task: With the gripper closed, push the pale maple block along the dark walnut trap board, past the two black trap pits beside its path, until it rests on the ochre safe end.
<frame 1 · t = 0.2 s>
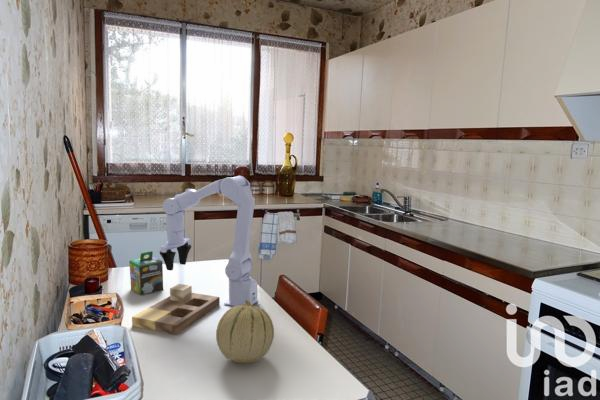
hand: (176, 267, 155), 10 cm above the table, tool pointing down, fingers open, 7 cm apart
maple block: (181, 298, 144), point 3 cm above the table, touching trap board
chalk box: (147, 290, 160), on the table
cantaloupe: (245, 360, 110), on the table
trap board: (178, 315, 137), on the table
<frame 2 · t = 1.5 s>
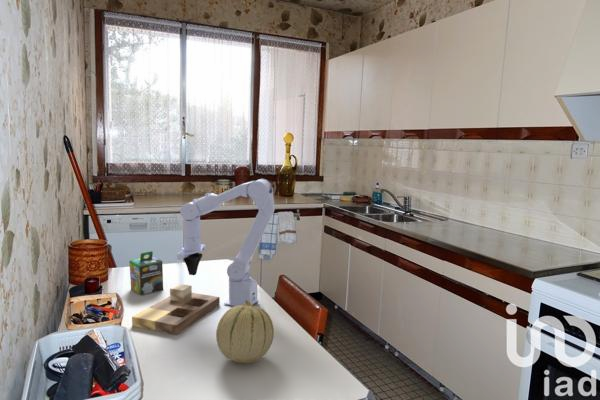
hand: (192, 274, 149), 9 cm above the table, tool pointing down, fingers closed
nothing on the table moved.
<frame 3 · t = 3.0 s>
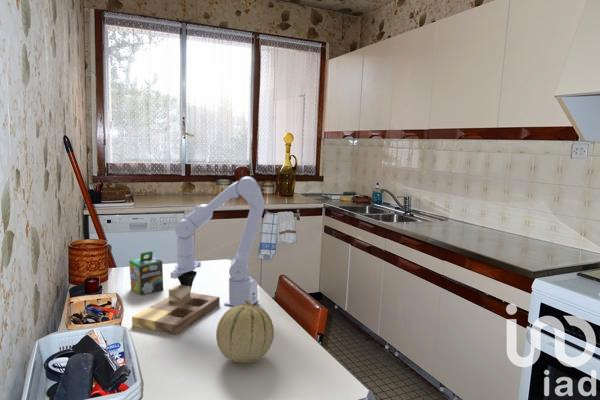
hand: (186, 292, 147), 4 cm above the table, tool pointing down, fingers closed
maple block: (179, 299, 143), point 3 cm above the table, touching gripper, trap board
everything else where it was.
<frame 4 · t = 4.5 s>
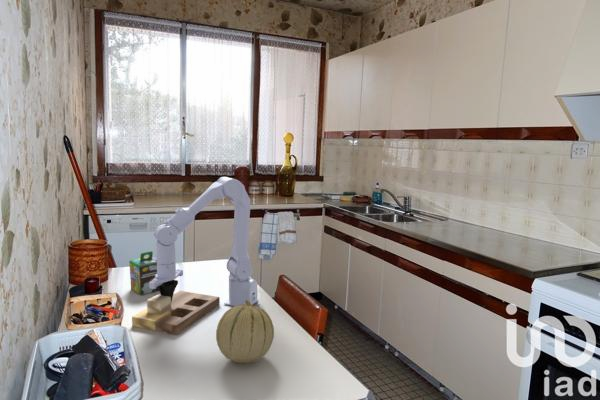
hand: (167, 303, 137), 4 cm above the table, tool pointing down, fingers closed
maple block: (159, 310, 133), point 3 cm above the table, touching gripper
everything else where it was.
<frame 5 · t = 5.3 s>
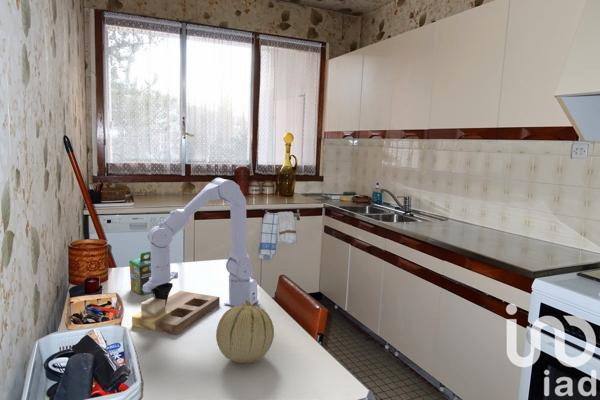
hand: (161, 306, 134), 4 cm above the table, tool pointing down, fingers closed
maple block: (153, 313, 131), point 3 cm above the table, touching gripper
everything else where it was.
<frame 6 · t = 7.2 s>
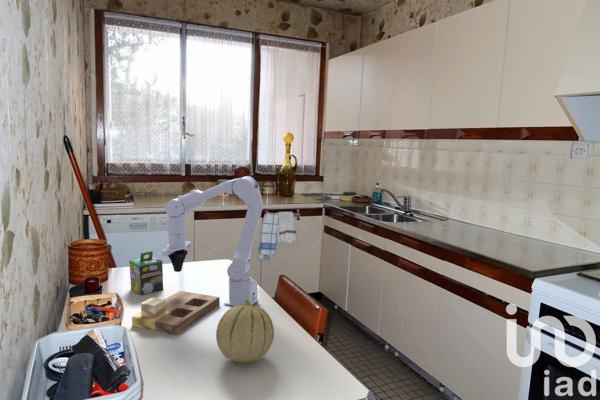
hand: (177, 271, 149), 10 cm above the table, tool pointing down, fingers closed
maple block: (153, 313, 131), point 3 cm above the table, touching trap board
everything else where it was.
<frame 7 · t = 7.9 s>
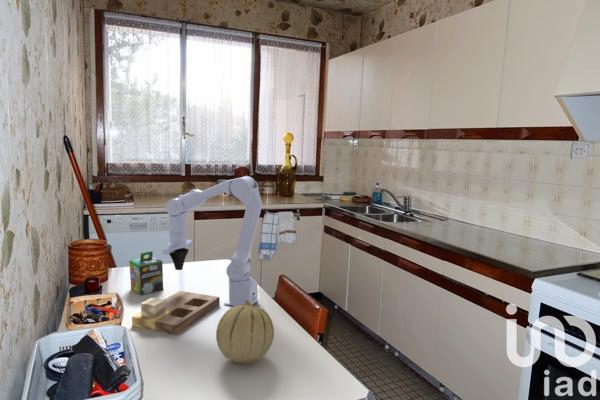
hand: (178, 269, 151), 10 cm above the table, tool pointing down, fingers closed
nothing on the table moved.
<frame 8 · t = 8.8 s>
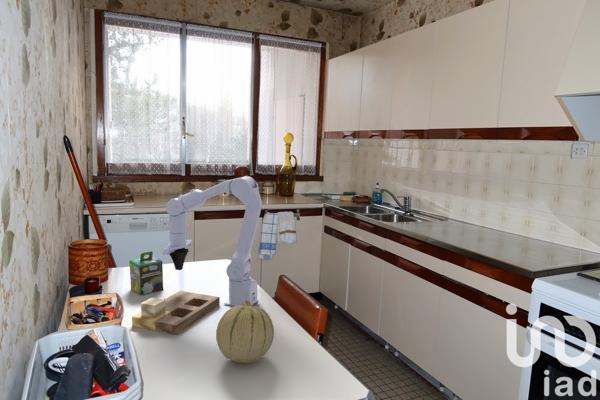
hand: (178, 269, 151), 10 cm above the table, tool pointing down, fingers closed
nothing on the table moved.
at the end: maple block inside the target area (0.8 cm from its centre), point 3.0 cm above the table; maple block tilted 0° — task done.
